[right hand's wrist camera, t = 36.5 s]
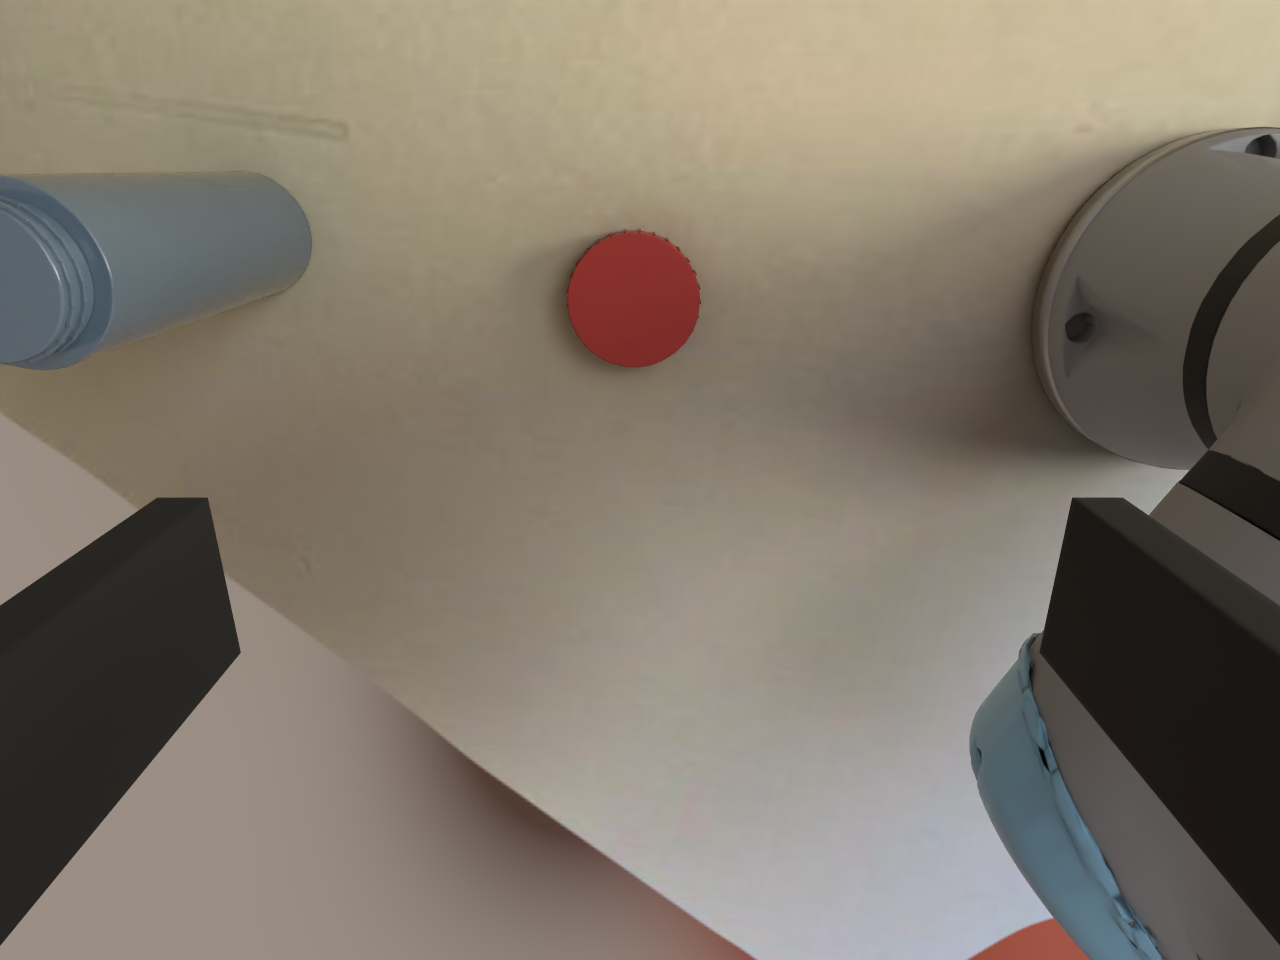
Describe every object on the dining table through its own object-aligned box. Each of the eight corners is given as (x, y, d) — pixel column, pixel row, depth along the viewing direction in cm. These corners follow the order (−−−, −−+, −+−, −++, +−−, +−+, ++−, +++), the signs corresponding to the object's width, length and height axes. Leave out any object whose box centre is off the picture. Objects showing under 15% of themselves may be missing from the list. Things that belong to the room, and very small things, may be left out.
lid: (629, 199, 36) (628, 200, 35) (726, 291, 38) (729, 297, 36) (542, 301, 38) (538, 306, 36) (638, 386, 39) (638, 395, 38)
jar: (295, 313, 38) (65, 411, 23) (180, 266, 37) (-137, 335, 22) (325, 202, 36) (98, 228, 21) (205, 150, 36) (-121, 138, 20)
